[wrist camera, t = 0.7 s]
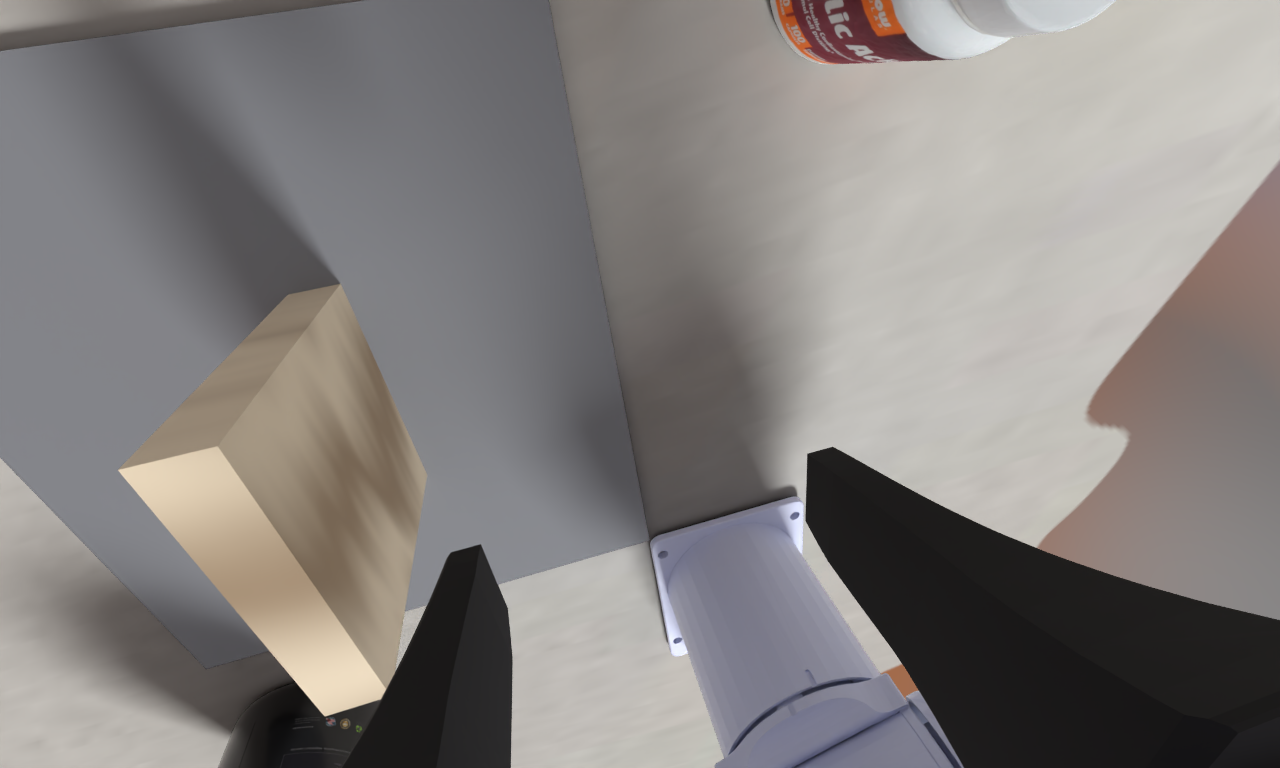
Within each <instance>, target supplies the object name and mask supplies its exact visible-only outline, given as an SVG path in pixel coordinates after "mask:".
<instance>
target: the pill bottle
mask: <svg viewBox="0 0 1280 768" xmlns="http://www.w3.org/2000/svg"><path fill="white" fill-rule="evenodd" d="M1115 1H1116V0H770V3H771V8H772V12H773V15H774V20H775V22H776V24H777V27H778V29H779V30H780V33H781V35H782V36H783V38H784V39H785V41H786V42H787V43H788V45H789V46H790V47H791V48H792V49H793V50H794V51H795V52H796V53H797V54H799V55H800V56H802V57H803V58H805V59H807V60H809V61H812V62H815V63H818V64H828V65H831V64H849V63H882V62H899V61H931V60H958V59H966V58H971V57H974V56H977V55H979V54H982V53H984V52H987V51H989V50H991V49H993V48H995V47H997V46H999V45H1001V44H1003V43H1005V42H1006V41H1008V40H1009V39H1011V38H1012V37H1020V36H1026V35H1036V34H1047V33H1055V32H1060V31H1064V30H1068V29H1071V28H1074V27H1077V26H1079V25H1081V24H1083V23H1085V22H1087V21H1089V20H1091V19H1092V18H1094V17H1096V16H1097V15H1099V14H1100V13H1101V12H1103V11H1104V10H1105V9H1107V8H1108V7H1109V6H1111V5H1112V4H1113V3H1114V2H1115Z"/></svg>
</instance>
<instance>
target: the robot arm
mask: <svg viewBox="0 0 1280 768" xmlns="http://www.w3.org/2000/svg"><path fill="white" fill-rule="evenodd" d="M803 508H804V505H803V502H802V501H801V500H800V498H798V497H796V496H794V497H789V498H786V499H782V500H779V501H775V502H772V503H769V504H765V505H762V506H758V507H755V508H751V509H748V510H744V511H741V512H737V513H734V514H731V515H727V516H724V517H720V518H717V519H713V520H710V521H706V522H703V523H699V524H696V525H693V526H689V527H686V528H682V529H679V530H675V531H672V532H668V533H665V534H661V535H658V536H656V537H654V538H653V539H652V541H651V542H650V547H651V553H652V558H653V563H654V569H655V574H656V579H657V585H658V590H659V595H660V601H661V606H662V611H663V617H664V622H665V627H666V633H667V638H668V643H669V648H670V652H671V654H672V655H673V656H681V655H684V654H687V653H688V655H689V658H690V661H691V664H692V666H693V669H694V672H695V675H696V678H697V681H698V684H699V687H700V690H701V692H702V695H703V698H704V701H705V704H706V707H707V710H708V713H709V716H710V718H711V721H712V724H713V727H714V730H715V733H716V736H717V739H718V742H719V744H720V747H721V750H722V753H723V756H724V759H723V760H721V761H719V762H718V763H716V764H715V768H1280V620H1277V619H1272V618H1268V617H1264V616H1260V615H1256V614H1251V613H1247V612H1243V611H1239V610H1234V609H1230V608H1226V607H1221V606H1217V605H1214V604H1209V603H1206V602H1202V601H1198V600H1194V599H1191V598H1187V597H1184V596H1180V595H1177V594H1173V593H1170V592H1166V591H1163V590H1159V589H1155V588H1152V587H1148V586H1145V585H1142V584H1138V583H1135V582H1132V581H1129V580H1126V579H1122V578H1119V577H1116V576H1113V575H1110V574H1107V573H1104V572H1101V571H1098V570H1095V569H1092V568H1089V567H1086V566H1084V565H1080V564H1077V563H1075V562H1072V561H1069V560H1066V559H1063V558H1061V557H1058V556H1055V555H1053V554H1050V553H1047V552H1045V551H1042V550H1040V549H1037V548H1035V547H1032V546H1030V545H1027V544H1025V543H1022V542H1020V541H1018V540H1015V539H1013V538H1010V537H1008V536H1005V535H1003V534H1001V533H998V532H996V531H994V530H991V529H989V528H987V527H985V526H982V525H980V524H978V523H976V522H974V521H972V520H970V519H968V518H966V517H963V516H961V515H959V514H957V513H955V512H953V511H951V510H949V509H947V508H945V507H943V506H941V505H939V504H937V503H935V502H933V501H931V500H929V499H927V498H925V497H923V496H921V495H920V494H918V493H916V492H914V491H912V490H910V489H908V488H906V487H905V486H903V485H901V484H899V483H897V482H895V481H894V480H892V479H890V478H888V477H886V476H885V475H883V474H881V473H879V472H877V471H876V470H874V469H872V468H870V467H869V466H867V465H865V464H863V463H861V462H860V461H858V460H856V459H854V458H853V457H851V456H849V455H847V454H845V453H843V452H842V451H840V450H838V449H836V448H834V447H831V448H827V449H823V450H820V451H816V452H812V453H809V454H808V455H807V488H806V522H807V524H808V526H809V528H810V530H811V532H812V534H813V535H814V537H815V539H816V541H817V543H818V545H819V546H820V548H821V550H822V552H823V553H824V555H825V557H826V558H827V560H828V562H829V563H830V565H831V566H832V567H833V569H834V570H835V572H836V573H837V574H838V576H839V577H840V579H841V580H842V581H843V583H844V584H845V585H846V587H847V588H848V590H849V591H850V592H851V594H852V595H853V596H854V598H855V599H856V600H857V602H858V603H859V605H860V606H861V607H862V609H863V610H864V611H865V613H866V614H867V615H868V617H869V618H870V619H871V621H872V622H873V624H874V625H875V626H876V628H877V629H878V630H879V632H880V633H881V634H882V636H883V637H884V639H885V640H886V641H887V643H888V644H889V645H890V647H891V648H892V649H893V651H894V652H895V654H896V655H897V657H898V658H899V660H900V661H901V663H902V664H903V666H904V667H905V669H906V670H907V672H908V673H909V675H910V677H911V678H912V680H913V682H914V683H915V685H916V686H917V688H918V690H919V691H915V692H913V693H911V694H909V695H907V696H906V700H907V702H906V700H905V699H904V697H903V696H902V694H901V693H900V691H899V690H898V688H897V687H896V685H895V684H894V682H893V681H892V679H891V678H890V676H889V675H888V674H886V673H884V674H882V675H881V674H880V672H879V671H878V669H877V668H876V666H875V665H874V663H873V662H872V660H871V659H870V657H869V656H868V654H867V653H866V651H865V650H864V648H863V647H862V645H861V644H860V642H859V641H858V639H857V638H856V636H855V635H854V633H853V632H852V630H851V629H850V627H849V626H848V624H847V623H846V621H845V619H844V618H843V616H842V615H841V613H840V612H839V610H838V609H837V607H836V606H835V604H834V603H833V601H832V600H831V598H830V597H829V595H828V594H827V592H826V591H825V589H824V588H823V586H822V585H821V583H820V582H819V580H818V579H817V577H816V576H815V574H814V573H813V571H812V570H811V568H810V566H809V565H808V563H807V562H806V560H805V559H804V557H803V556H802V549H803ZM792 513H793V514H792ZM661 551H663V552H661ZM660 552H661V553H660ZM511 720H512V648H511V636H510V627H509V617H508V608H507V606H506V603H505V601H504V598H503V596H502V594H501V591H500V589H499V586H498V584H497V582H496V579H495V577H494V574H493V572H492V570H491V567H490V565H489V562H488V560H487V558H486V555H485V553H484V550H483V548H482V546H481V544H479V545H476V546H472V547H469V548H465V549H461V550H458V551H454V552H451V553H450V554H449V556H448V557H447V559H446V561H445V564H444V566H443V569H442V571H441V574H440V576H439V579H438V581H437V584H436V586H435V588H434V591H433V593H432V595H431V598H430V600H429V602H428V605H427V607H426V609H425V611H424V614H423V616H422V618H421V620H420V622H419V624H418V627H417V629H416V631H415V633H414V635H413V637H412V639H411V641H410V644H409V646H408V648H407V650H406V652H405V654H404V656H403V658H402V660H401V662H400V664H399V666H398V668H397V670H396V672H395V674H394V675H393V677H392V679H391V681H390V683H389V685H388V687H387V689H386V691H385V692H384V694H383V696H382V698H381V700H380V702H379V704H378V706H377V708H376V709H375V711H374V713H373V715H372V716H371V718H370V720H369V722H368V723H367V725H366V727H365V729H364V730H363V732H362V734H361V735H360V737H359V739H358V740H357V742H356V744H355V745H354V747H353V749H352V750H351V752H350V754H349V755H348V757H347V758H346V760H345V762H344V763H343V765H342V767H341V768H511Z"/></svg>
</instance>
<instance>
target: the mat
mask: <svg viewBox="0 0 1280 768" xmlns="http://www.w3.org/2000/svg"><path fill="white" fill-rule="evenodd" d="M337 284H341V286H342V288H343V290H344V292H345V294H346V297H347V299H348V301H349V303H350V305H351V308H352V310H353V312H354V314H355V317H356V319H357V321H358V323H359V325H360V328H361V330H362V332H363V334H364V336H365V339H366V341H367V343H368V345H369V347H370V350H371V352H372V354H373V356H374V358H375V361H376V363H377V365H378V367H379V370H380V372H381V374H382V376H383V378H384V381H385V383H386V385H387V387H388V389H389V392H390V394H391V396H392V398H393V400H394V403H395V405H396V407H397V409H398V411H399V414H400V416H401V418H402V420H403V422H404V425H405V427H406V429H407V431H408V434H409V436H410V438H411V440H412V442H413V445H414V447H415V449H416V451H417V453H418V456H419V458H420V460H421V462H422V464H423V467H424V469H425V471H426V473H427V479H426V485H425V491H424V498H423V504H422V510H421V516H420V522H419V528H418V534H417V540H416V546H415V552H414V558H413V564H412V570H411V577H410V583H409V589H408V595H407V601H406V607H405V611H408V610H412V609H415V608H419V607H422V606H426V605H428V602H429V600H430V598H431V595H432V593H433V591H434V588H435V586H436V584H437V581H438V579H439V576H440V574H441V571H442V569H443V566H444V564H445V561H446V559H447V557H448V556H449V554H450V553H451V552H454V551H458V550H461V549H465V548H469V547H472V546H476V545H479V544H481V546H482V548H483V550H484V553H485V555H486V558H487V560H488V562H489V565H490V567H491V570H492V572H493V574H494V577H495V579H496V582H497V584H501V583H505V582H508V581H512V580H515V579H519V578H522V577H525V576H529V575H532V574H536V573H539V572H543V571H546V570H550V569H553V568H556V567H560V566H563V565H567V564H570V563H574V562H577V561H581V560H584V559H587V558H591V557H594V556H598V555H601V554H605V553H608V552H612V551H615V550H618V549H622V548H625V547H629V546H632V545H636V544H639V543H643V542H646V541H649V535H648V529H647V524H646V519H645V513H644V508H643V503H642V497H641V492H640V487H639V481H638V476H637V471H636V465H635V460H634V455H633V449H632V444H631V439H630V433H629V428H628V422H627V417H626V412H625V406H624V401H623V396H622V390H621V385H620V380H619V374H618V369H617V364H616V358H615V353H614V348H613V342H612V337H611V332H610V326H609V321H608V316H607V310H606V305H605V300H604V294H603V289H602V283H601V278H600V273H599V267H598V262H597V257H596V251H595V246H594V241H593V235H592V230H591V225H590V219H589V214H588V209H587V203H586V198H585V193H584V187H583V182H582V177H581V171H580V166H579V161H578V155H577V150H576V144H575V139H574V134H573V128H572V123H571V118H570V112H569V107H568V102H567V96H566V91H565V86H564V80H563V75H562V70H561V64H560V59H559V54H558V48H557V43H556V38H555V32H554V27H553V22H552V16H551V11H550V5H549V0H363V1H356V2H349V3H342V4H335V5H327V6H320V7H313V8H306V9H299V10H292V11H284V12H277V13H270V14H263V15H256V16H248V17H241V18H234V19H227V20H220V21H212V22H205V23H198V24H191V25H184V26H177V27H169V28H162V29H155V30H148V31H141V32H133V33H126V34H119V35H112V36H105V37H98V38H90V39H83V40H76V41H69V42H62V43H54V44H47V45H40V46H33V47H26V48H18V49H11V50H4V51H0V458H1V459H2V460H3V461H4V462H5V463H6V464H7V465H8V466H9V467H10V468H11V469H12V470H13V471H14V472H15V473H16V474H17V475H18V476H19V477H20V478H21V479H22V480H23V481H24V482H25V484H26V485H27V486H28V487H29V488H30V489H31V490H32V491H33V492H34V493H35V494H36V495H37V496H38V497H39V498H40V499H41V500H42V501H43V502H44V503H45V504H46V505H47V506H48V507H49V508H50V509H51V510H52V511H53V512H54V513H55V514H56V515H57V516H58V517H59V518H60V520H61V521H62V522H63V523H64V524H65V525H66V526H67V527H68V528H69V529H70V530H71V531H72V532H73V533H74V534H75V535H76V536H77V537H78V538H79V539H80V540H81V541H82V542H83V543H84V544H85V545H86V546H87V547H88V548H89V549H90V550H91V551H92V552H93V553H94V554H95V556H96V557H97V558H98V559H99V560H100V561H101V562H102V563H103V564H104V565H105V566H106V567H107V568H108V569H109V570H110V571H111V572H112V573H113V574H114V575H115V576H116V577H117V578H118V579H119V580H120V581H121V582H122V583H123V584H124V585H125V586H126V587H127V588H128V589H129V590H130V592H131V593H132V594H133V595H134V596H135V597H136V598H137V599H138V600H139V601H140V602H141V603H142V604H143V605H144V606H145V607H146V608H147V609H148V610H149V611H150V612H151V613H152V614H153V615H154V616H155V617H156V618H157V619H158V620H159V621H160V622H161V623H162V624H163V625H164V626H165V627H166V629H167V630H168V631H169V632H170V633H171V634H172V635H173V636H174V637H175V638H176V639H177V640H178V641H179V642H180V643H181V644H182V645H183V646H184V647H185V648H186V649H187V650H188V651H189V652H190V653H191V654H192V655H193V656H194V657H195V658H196V659H197V660H198V661H199V662H200V663H201V665H202V666H203V667H204V668H205V669H209V668H212V667H215V666H219V665H222V664H226V663H229V662H233V661H236V660H240V659H243V658H246V657H250V656H253V655H257V654H260V653H264V652H267V651H269V650H268V648H267V647H266V646H265V645H264V644H263V642H262V641H261V640H260V639H259V638H258V637H257V635H256V634H255V633H254V632H253V631H252V629H251V628H250V627H249V626H248V625H247V623H246V622H245V621H244V620H243V619H242V617H241V616H240V615H239V614H238V613H237V612H236V610H235V609H234V608H233V607H232V606H231V604H230V603H229V602H228V601H227V600H226V598H225V597H224V596H223V595H222V594H221V592H220V591H219V590H218V589H217V588H216V587H215V585H214V584H213V583H212V582H211V581H210V579H209V578H208V577H207V576H206V575H205V573H204V572H203V571H202V570H201V569H200V567H199V566H198V565H197V564H196V563H195V562H194V560H193V559H192V558H191V557H190V556H189V554H188V553H187V552H186V551H185V550H184V548H183V547H182V546H181V545H180V544H179V542H178V541H177V540H176V539H175V538H174V537H173V535H172V534H171V533H170V532H169V531H168V529H167V528H166V527H165V526H164V525H163V523H162V522H161V521H160V520H159V519H158V517H157V516H156V515H155V514H154V513H153V512H152V510H151V509H150V508H149V507H148V506H147V504H146V503H145V502H144V501H143V500H142V498H141V497H140V496H139V495H138V494H137V492H136V491H135V490H134V489H133V488H132V486H131V485H130V484H129V483H128V482H127V481H126V479H125V478H124V477H123V476H122V475H121V473H120V472H119V471H118V469H119V468H120V467H121V466H122V465H123V464H124V463H125V462H126V461H127V460H128V459H129V458H130V457H131V456H132V455H133V454H134V453H135V452H136V451H137V450H138V449H139V448H140V447H141V446H142V445H143V444H144V442H145V441H146V440H147V439H148V438H149V437H150V436H151V435H152V434H153V433H154V432H155V431H156V430H157V429H158V428H159V427H160V426H161V425H162V424H163V423H164V422H165V421H166V420H167V419H168V418H169V417H170V416H171V415H172V414H173V413H174V412H175V410H176V409H177V408H178V407H179V406H180V405H181V404H182V403H183V402H184V401H185V400H186V399H187V398H188V397H189V396H190V395H191V394H192V393H193V392H194V391H195V390H196V389H197V388H198V387H199V386H200V385H201V384H202V383H203V382H204V381H205V380H206V379H207V377H208V376H209V375H210V374H211V373H212V372H213V371H214V370H215V369H216V368H217V367H218V366H219V365H220V364H221V363H222V362H223V361H224V360H225V359H226V358H227V357H228V356H229V355H230V354H231V353H232V352H233V351H234V350H235V349H236V348H237V347H238V346H239V344H240V343H241V342H242V341H243V340H244V339H245V338H246V337H247V336H248V335H249V334H250V333H251V332H252V331H253V330H254V329H255V328H256V327H257V326H258V325H259V324H260V323H261V322H262V321H263V320H264V319H265V318H266V317H267V316H268V315H269V314H270V313H271V311H272V310H273V309H274V308H275V307H276V306H277V305H278V304H279V303H280V302H281V301H282V300H283V299H284V298H285V297H286V296H287V295H289V294H293V293H298V292H303V291H308V290H313V289H318V288H322V287H327V286H332V285H337Z"/></svg>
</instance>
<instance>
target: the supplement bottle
mask: <svg viewBox="0 0 1280 768" xmlns="http://www.w3.org/2000/svg"><path fill="white" fill-rule="evenodd" d="M380 700H381V699H380ZM380 700H377V701H373V702H370V703H367V704H364V705H361V706H357V707H354V708H351V709H348V710H344V711H341V712H338V713H335V714H332V715H328V716H324V715H323V714H322V713H321V712H320V710H319V709H318V708H317V707H316V706H315V704H314V703H313V702H312V701H311V700H310V698H309V697H308V696H307V695H306V694H305V692H304V691H303V690H302V689H301V688H300V687H299V685H298V684H297V683H293V684H290V685H286V686H283V687H281V688H278V689H276V690H274V691H272V692H270V693H268V694H266V695H264V696H263V697H261V698H259V699H258V700H257V701H255V702H254V703H253V704H252V705H251V706H249V707H248V708H247V709H246V710H245V711H244V713H243V714H242V715H241V716H240V718H239V719H238V721H237V723H236V725H235V727H234V729H233V731H232V734H231V736H230V739H229V741H228V744H227V746H226V749H225V751H224V753H223V756H222V759H221V761H220V764H219V766H218V768H341V767H342V765H343V763H344V762H345V760H346V758H347V757H348V755H349V754H350V752H351V750H352V749H353V747H354V745H355V744H356V742H357V740H358V739H359V737H360V735H361V734H362V732H363V730H364V729H365V727H366V725H367V723H368V722H369V720H370V718H371V716H372V715H373V713H374V711H375V709H376V708H377V706H378V704H379V702H380Z"/></svg>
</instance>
